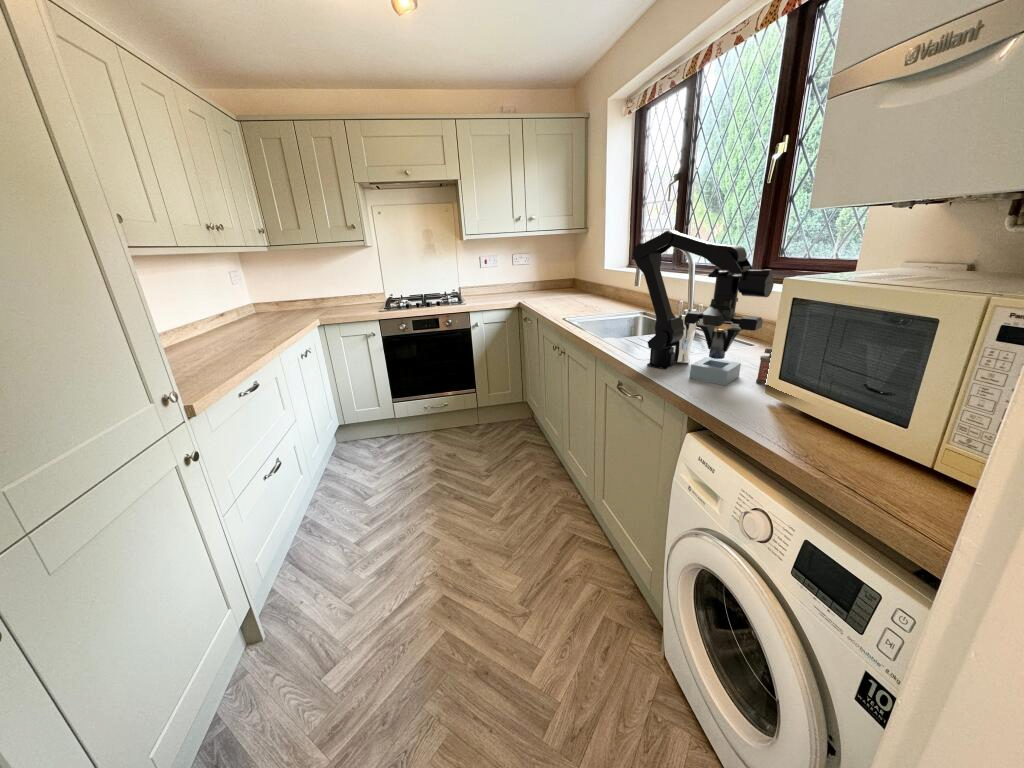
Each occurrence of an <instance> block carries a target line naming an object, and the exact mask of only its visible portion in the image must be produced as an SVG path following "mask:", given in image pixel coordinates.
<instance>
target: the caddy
mask: <svg viewBox="0 0 1024 768" xmlns="http://www.w3.org/2000/svg"><path fill="white" fill-rule="evenodd" d="M741 365H742V363H741V362H737V361H736V362H735V361H729V360H724V359H714V358H710V357H706V356H705V357H704V358H701V359H699V360H697V361H695V362H693V363H691V364H690V370H689V379H692V378H693V380H698V381H703V382H707V383H713V384H718V385H721V386H722V385H723V386H727V385H728V384H730V383H732V382H733V381H734V380H736V379H738V378H739V376H740V371H741Z"/></svg>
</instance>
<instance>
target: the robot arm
mask: <svg viewBox="0 0 1024 768" xmlns="http://www.w3.org/2000/svg"><path fill="white" fill-rule="evenodd" d="M671 247H672V248H675V249H678V250H681V251H684V252H687V253H690V254H692V255H696V256H699V257H701V258H704V259H705V260H707V261H708V262H709V263H710V264H712V265H714V266H715V268H714V270H713V271H711V272H710V273H708V275H707V277H708V278H715V284H714V291H713V292H714V293H713V298H711V301H710V305H709V306H708V307H707V308H706V309H705V310H704V311H700V310H699V311H698V310H692V311H690V312H687V313H686V314H684V315H685V320H684V323H691V324H695V323H696V326H697V327H696V328H700V329H701V330H702V331H703V334H704V338H705V341H706V346H707V349H708V350H710V345H711V338H712V331H714V330H715V327H721V326H723V325H730V326H731V327H729V328H726V331H727V332H728V335H727V339H726V343H725V348H724V352H725V353H726V352H728V350H729V349H730V347H731V345H732V343H733V342H734V340H735V339H736V337H737V336H738V334H739V333H740V332H743V331H750V332H751V331H757V330H759V329H761V328H763V322H764V320H763V318H762V317H761V316H754V315H751V316H750V315H746V316H743V317H736V316H737V315H736V314H737V312H736V308H737V307H736V306H737V303H738V302H739V297H738V295H739V294H740V293H741V296H743V297H753V298H757V297H758V298H769V297H770V296H771V293H772V291H773V289H774V284H775V283H774V277H773V269H770V268H768V269H754V268H753V267H752V265H751V263H750V261H749V260H748V258H747V250H746V248H745V247H743V246H741V245H735V244H734V245H732V244H725V243H724V244H722V243H713V242H710V241H707V240H704V239H700V238H698V237H694V236H691V235H688V234H684V233H681V232H679V231H678V230H666V231H663V232H662V233H660V234H659V235H658V236H656V237H653V238H651V239H649V240H646V241H645V242H640V243H638V244H636V245H635V247H634V248H633V250H632V258H633V261H634V262H635V265H636V267H637V268H638V269H639V270H640V271H641V272H642V274H643V276H644V278H645V282H646V287H647V289H648V290H647V291H648V294H649V297H650V300H651V304H652V307H653V312H654V315H655V324H654V336H653V337H651V338H650V339H649V340H648V341H647V347H648V349H650V354H649V356H650V357H649V362H648V363H647V364H646V366H647V367H653V368H658V369H662V370H667V369H669V368H671V367H673V366H675V364H676V362H674V358H675V352H674V347H672V346H676V344H677V342H678V341H679V340H681V338H682V337H683V335H684V331H683V330H684V329H685V328H684V327H683V324H682V319H681V317H678V318H676V317H675V316H674V315H675V314H673V311H672V307H671V304H670V301H669V296H668V293H667V290H666V285H665V282H664V280H663V275H662V271H661V264H662V259H663V257H662V254H664V253H665V252H667V251H668V250H670V248H671ZM697 322H698V323H697Z"/></svg>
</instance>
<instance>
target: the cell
mask: <svg viewBox="0 0 1024 768" xmlns="http://www.w3.org/2000/svg"><path fill="white" fill-rule="evenodd" d="M727 335H728V332H727V330H725V329H724V328H716V329H714V331H712V338H711V345H710V349H709V353H708V358H713V359H719V360H724V359H725V355H726V352H724V348H725V343H726V339H727Z"/></svg>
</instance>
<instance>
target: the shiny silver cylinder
mask: <svg viewBox="0 0 1024 768" xmlns="http://www.w3.org/2000/svg"><path fill="white" fill-rule="evenodd" d="M673 315H674V316H675V317H676V318H678V317H681V319H682V324H683V327H684V328H685V329H684V330H683V331H684V335H683V337H682V338H681V340H679V341H678V342H677V344H676V346H672V347H674V352H675V358H674V363H679V364H680V363H681V364H689V363H690V362H691V361H690V350H691V347H692V344H693V342H694V337H695V334H696V329H697V327H696V326H697V322H696V323H695V324H691V323H684V320H685V315H686V314H673Z"/></svg>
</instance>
